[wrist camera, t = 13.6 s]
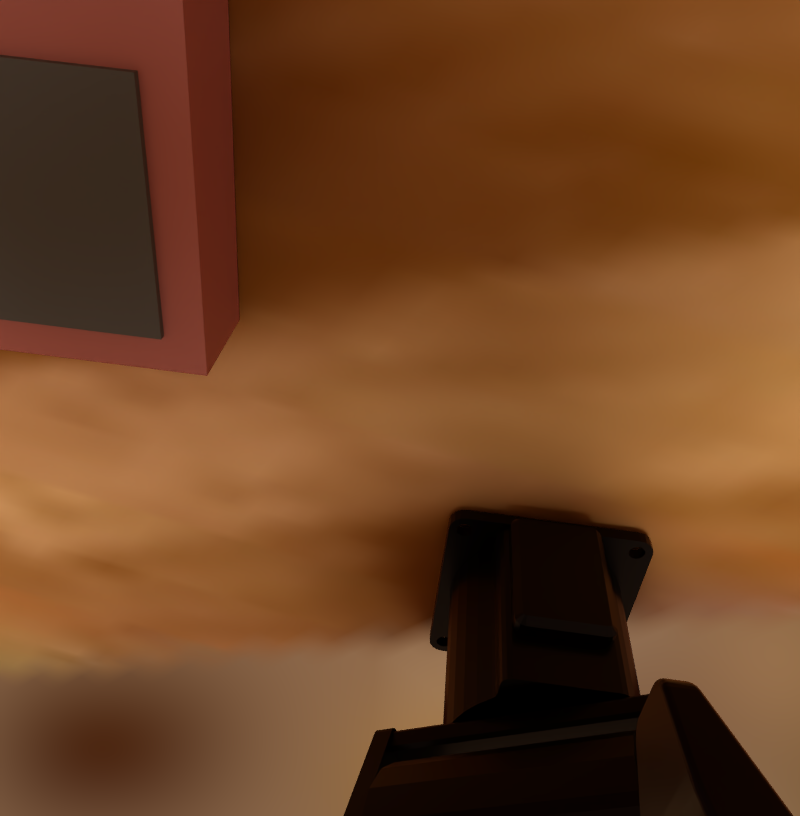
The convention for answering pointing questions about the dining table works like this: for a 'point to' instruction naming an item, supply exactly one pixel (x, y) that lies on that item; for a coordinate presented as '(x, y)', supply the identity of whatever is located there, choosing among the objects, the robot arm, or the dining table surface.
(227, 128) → the pink control box
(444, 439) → the dining table surface
